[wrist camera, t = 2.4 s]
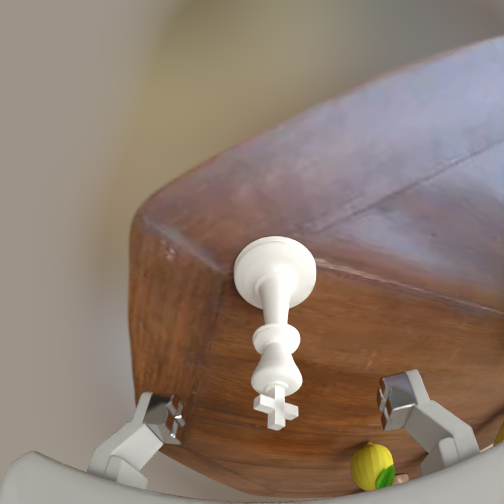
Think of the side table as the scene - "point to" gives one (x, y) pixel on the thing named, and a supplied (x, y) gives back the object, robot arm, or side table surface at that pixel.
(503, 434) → the banana
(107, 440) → the robot arm
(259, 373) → the chess piece
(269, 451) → the side table surface
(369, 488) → the lemon
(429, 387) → the side table surface
